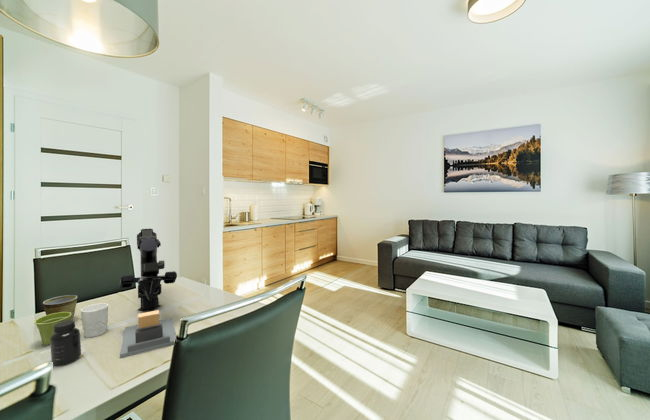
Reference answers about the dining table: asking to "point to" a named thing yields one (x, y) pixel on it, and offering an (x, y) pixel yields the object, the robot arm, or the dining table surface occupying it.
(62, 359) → the supplement bottle
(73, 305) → the ceramic cup
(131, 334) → the switch board
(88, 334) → the white cup
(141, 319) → the lever
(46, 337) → the plant pot
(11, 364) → the dining table surface
